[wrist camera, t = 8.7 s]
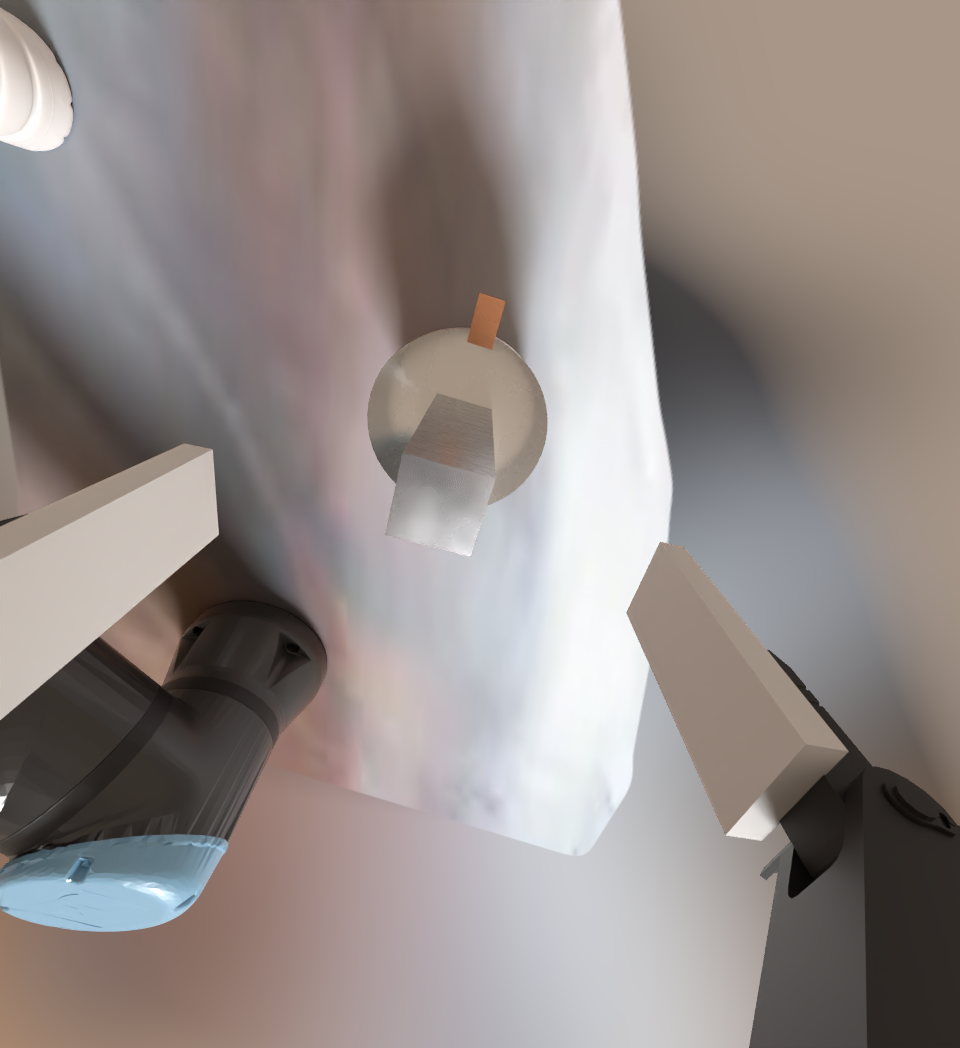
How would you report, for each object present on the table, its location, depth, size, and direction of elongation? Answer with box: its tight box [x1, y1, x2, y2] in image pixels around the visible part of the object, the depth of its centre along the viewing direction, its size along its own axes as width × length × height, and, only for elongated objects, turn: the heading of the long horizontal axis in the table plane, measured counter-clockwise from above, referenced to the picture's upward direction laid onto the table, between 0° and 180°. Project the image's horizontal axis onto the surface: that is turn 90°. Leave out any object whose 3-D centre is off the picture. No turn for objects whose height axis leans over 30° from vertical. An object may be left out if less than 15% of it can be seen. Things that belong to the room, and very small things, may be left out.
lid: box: [367, 293, 547, 556], centre depth 21 cm, size 12×10×14 cm
